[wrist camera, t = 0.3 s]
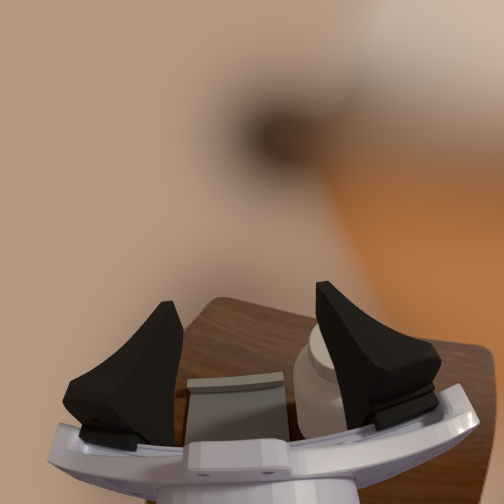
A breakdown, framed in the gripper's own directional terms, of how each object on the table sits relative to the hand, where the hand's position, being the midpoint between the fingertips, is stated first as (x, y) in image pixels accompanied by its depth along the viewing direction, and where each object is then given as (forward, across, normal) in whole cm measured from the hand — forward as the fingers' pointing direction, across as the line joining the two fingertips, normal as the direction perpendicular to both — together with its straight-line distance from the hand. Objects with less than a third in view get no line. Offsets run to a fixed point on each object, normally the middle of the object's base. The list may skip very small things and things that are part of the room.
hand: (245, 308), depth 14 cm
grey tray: (+3, +4, +20) cm, 21 cm away
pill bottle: (+2, -7, +20) cm, 22 cm away
